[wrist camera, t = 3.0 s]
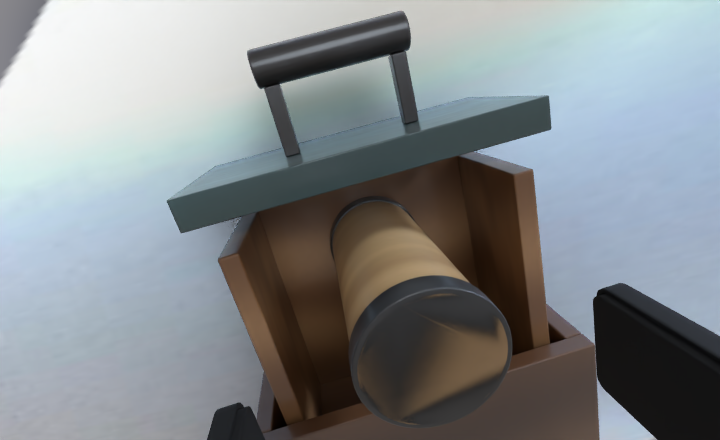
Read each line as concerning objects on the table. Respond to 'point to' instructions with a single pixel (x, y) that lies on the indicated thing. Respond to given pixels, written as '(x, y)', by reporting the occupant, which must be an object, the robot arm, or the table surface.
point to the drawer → (357, 180)
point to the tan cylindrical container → (413, 320)
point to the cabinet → (492, 419)
